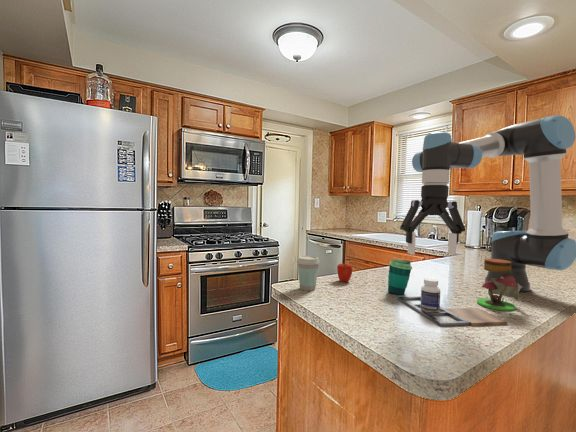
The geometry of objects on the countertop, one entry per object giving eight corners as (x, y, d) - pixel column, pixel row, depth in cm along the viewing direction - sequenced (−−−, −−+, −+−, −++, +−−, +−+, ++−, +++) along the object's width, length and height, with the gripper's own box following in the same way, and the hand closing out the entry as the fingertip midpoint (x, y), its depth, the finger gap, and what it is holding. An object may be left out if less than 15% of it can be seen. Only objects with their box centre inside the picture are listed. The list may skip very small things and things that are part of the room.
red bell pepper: (352, 280, 129) (353, 262, 129) (351, 283, 123) (351, 265, 123) (337, 278, 131) (338, 261, 131) (335, 282, 125) (336, 264, 125)
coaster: (477, 310, 95) (477, 307, 95) (507, 324, 84) (507, 321, 84) (445, 311, 93) (445, 308, 93) (471, 325, 82) (471, 322, 82)
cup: (388, 288, 117) (389, 258, 117) (410, 291, 114) (412, 260, 114) (387, 294, 109) (388, 261, 109) (411, 297, 107) (412, 263, 106)
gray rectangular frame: (421, 298, 106) (421, 296, 105) (470, 325, 83) (470, 322, 83) (397, 299, 104) (397, 297, 104) (440, 326, 81) (440, 323, 81)
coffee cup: (318, 292, 110) (319, 260, 109) (294, 291, 111) (295, 258, 111) (319, 286, 118) (320, 256, 118) (297, 285, 120) (298, 255, 119)
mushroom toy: (505, 314, 92) (508, 265, 91) (467, 301, 103) (469, 258, 103) (529, 310, 96) (532, 263, 96) (490, 298, 108) (492, 256, 107)
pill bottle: (441, 314, 90) (443, 282, 90) (422, 313, 91) (423, 281, 91) (436, 308, 96) (437, 278, 95) (418, 307, 97) (419, 277, 96)
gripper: (463, 187, 97) (459, 252, 98) (390, 184, 94) (387, 251, 95) (481, 185, 90) (477, 256, 91) (403, 182, 86) (400, 256, 87)
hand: (431, 254), depth 93 cm, fingers open, 13 cm apart
